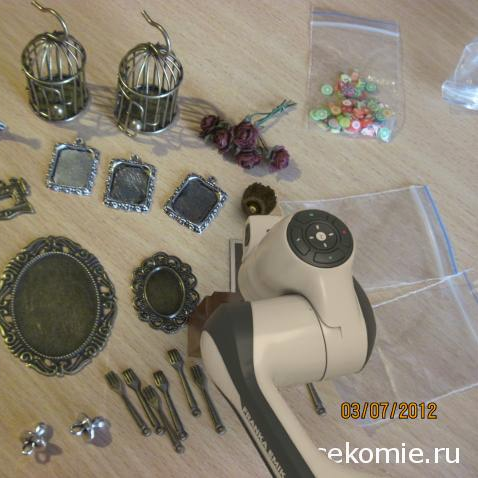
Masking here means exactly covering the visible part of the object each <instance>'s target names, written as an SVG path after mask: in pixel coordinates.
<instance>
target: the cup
mask: <svg viewBox="0 0 478 478" xmlns="http://www.w3.org/2000/svg"><path fill="white" fill-rule="evenodd" d="M277 199H278V196H277V195H276V190H275V189H274V188H272V187H271V185H269V184H268V185H264V184H262V182H257V181H255V182H253V183H252V184H249V185H248V186H247V187H246V188H245V189H244V191H243V193H242V196H241V200H240V209H241V212H242V213H243V215H244V216H245V217H246V218H248V217H249V216H253V215H269V214H271V213H272V212H273V211H274V209H275V208H276V207H277V203H278V201H277ZM252 210H253V211H252Z"/></svg>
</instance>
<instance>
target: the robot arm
mask: <svg viewBox="0 0 478 478" xmlns="http://www.w3.org/2000/svg"><path fill="white" fill-rule="evenodd" d="M241 236H242V240H243V256H242V264H241V266H240V269H239V273H238V285H239V289H240V292H241V294H242V297H243V298H244V301H243V302H233V303H222V304H221V305H220V306H219V307H218V308H217V309H216V310H215V311H214V312H213V313H212V314H211V315H210V317H209V318H208V319H207V321H206V322H205V324H204V325H203V327H202V329H201V331H200V347H201V355H202V357H201V359H202V362H203V365H204V368H205V371H206V372H207V374H208V375H209V378H210V379H211V381H212V383H213V384H214V386H215V387H216V389H217V391H218V392H219V393H220V395H221V396H222V397H223V398H224V400H225V401H226V402H227V404H229V406H230V408H231V409H232V411H233V412H234V414H235V416H236V417H237V419H238V420H239V422H240V424H241V425H242V427H243V429H244V431H245V432H246V434H247V436H248V437H249V439H250V441H251V443H252V445H253V447H254V449H255V450H256V451H257V453H258V455H259V457H260V459H261V461H262V462H263V464H264V465H265V467H266V469H267V471H268V472H269V474H270V476H271V477H272V478H397V476H396V477H395V476H387V475H382V474H376V473H371V472H366V471H362V470H358V469H355V468H352V467H349V466H347V465H343V464H341V463H339V462H337V461H335V460H333V459H331V457H329V456H327V455H325V453H323V452H322V451H321V450H320V449H319V448H318V447H317V446H316V445H315V443H314V442H313V441H312V439H311V438H310V436H309V435H308V433H307V432H306V430H305V429H304V427H303V425H302V424H301V422H300V421H299V419H298V418H297V416H296V415H295V414H294V412H293V410H292V409H291V407H290V406H289V404H288V403H287V401H286V400H285V399H284V396H283V395H282V394H281V392H280V391H279V390H283V389H289V388H292V387H297V386H301V385H305V384H311V383H315V382H316V383H318V382H323V381H328V380H333V379H337V378H342V377H346V376H350V375H354V374H359V373H360V372H361V371H362V370H363V369H364V368H365V367H366V366H367V364H368V362H369V360H370V358H371V357H372V353H373V350H374V347H375V344H376V343H375V342H376V339H377V322H376V318H375V314H374V310H373V307H372V304H371V302H370V299H369V298H368V295H367V294H366V291H365V290H364V288H363V287H362V285H361V284H360V282H359V281H358V280H357V279H356V277H355V276H354V274H353V266H354V262H355V257H356V242H355V241H356V240H355V237H354V234H353V233H352V230H351V229H350V228H349V226H348V225H347V224H346V222H345V221H344V220H342V219H341V218H339V216H337V215H335V214H333V213H331V212H329V211H326V210H323V209H317V208H304V209H299V210H296V211H294V212H293V211H292V212H291V213H289V214H287V215H286V216H280V215H271V214H270V215H269V214H268V215H253V216H249V217H247V218H246V221H245V223H244V224H243V229H242V235H241Z"/></svg>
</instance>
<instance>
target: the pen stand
mask: <svg viewBox="0 0 478 478" xmlns="http://www.w3.org/2000/svg"><path fill="white" fill-rule="evenodd" d="M242 299H243V297H242V294H241V293H237V292H230V291H219V290H218V291H217V290H214V291H213V292H212V294H211V295H209V294H207V295H205V296H204V297H203V298H202V300H201V301H200V302H199V303H198V305H197V306H196V307H195V309H194V310H193V311H192V313H191V314H190V315H189V316H188V318H187V358H202V355H201V347H200V331H201V329H202V327H203V325H204V324H205V322H206V321H207V319H208V318H209V317H210V315H211V314H212V313H213V312H214V311H215V310H216V309H217V308H218V307H219V306H220V305H221V304H222V303H233V302H240V301H241V300H242Z"/></svg>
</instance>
